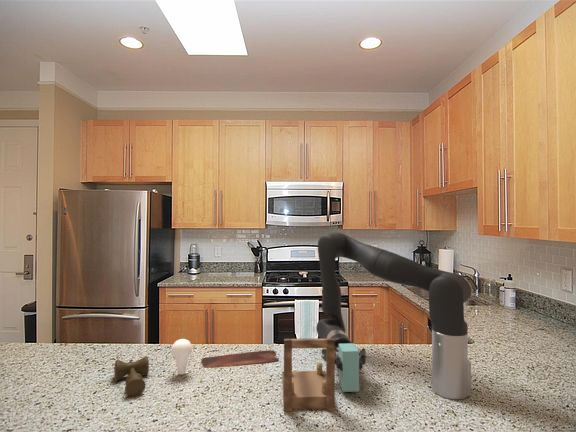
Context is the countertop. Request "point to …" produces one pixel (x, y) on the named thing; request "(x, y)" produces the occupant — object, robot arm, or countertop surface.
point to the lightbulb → (181, 354)
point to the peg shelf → (309, 378)
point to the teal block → (349, 367)
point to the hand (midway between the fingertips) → (350, 367)
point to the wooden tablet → (240, 359)
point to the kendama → (132, 375)
